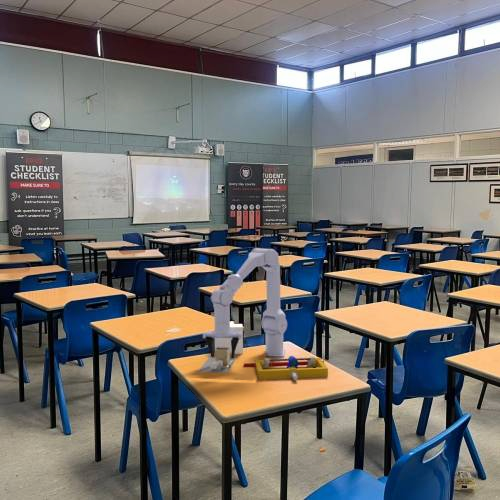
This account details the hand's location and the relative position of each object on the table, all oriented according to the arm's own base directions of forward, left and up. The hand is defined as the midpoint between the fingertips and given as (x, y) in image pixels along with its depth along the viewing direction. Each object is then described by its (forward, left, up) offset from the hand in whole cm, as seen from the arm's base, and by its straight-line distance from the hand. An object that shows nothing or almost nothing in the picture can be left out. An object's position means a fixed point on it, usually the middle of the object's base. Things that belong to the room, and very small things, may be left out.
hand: (222, 357), depth 191 cm
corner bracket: (-20, -2, -4) cm, 21 cm away
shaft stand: (-1, -2, -4) cm, 5 cm away
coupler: (0, 0, -3) cm, 3 cm away
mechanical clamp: (+4, +24, -5) cm, 25 cm away
